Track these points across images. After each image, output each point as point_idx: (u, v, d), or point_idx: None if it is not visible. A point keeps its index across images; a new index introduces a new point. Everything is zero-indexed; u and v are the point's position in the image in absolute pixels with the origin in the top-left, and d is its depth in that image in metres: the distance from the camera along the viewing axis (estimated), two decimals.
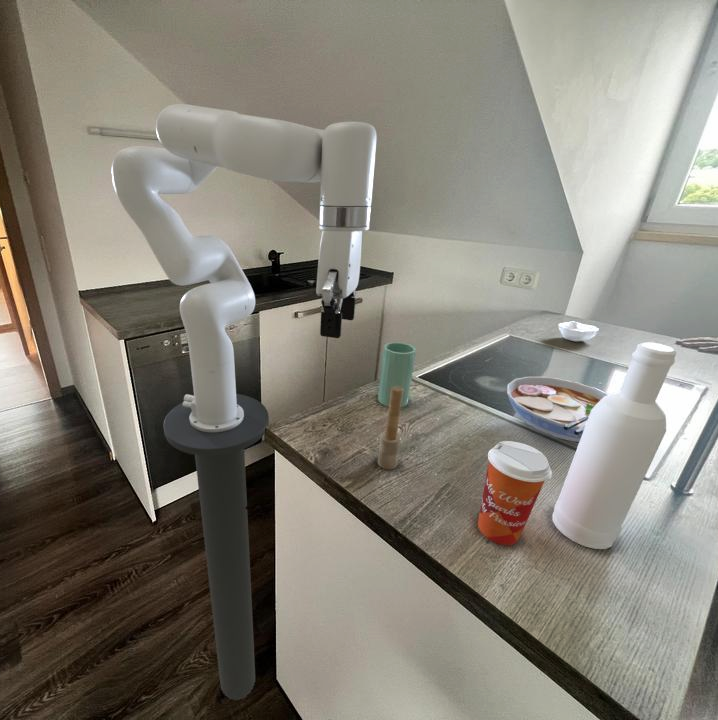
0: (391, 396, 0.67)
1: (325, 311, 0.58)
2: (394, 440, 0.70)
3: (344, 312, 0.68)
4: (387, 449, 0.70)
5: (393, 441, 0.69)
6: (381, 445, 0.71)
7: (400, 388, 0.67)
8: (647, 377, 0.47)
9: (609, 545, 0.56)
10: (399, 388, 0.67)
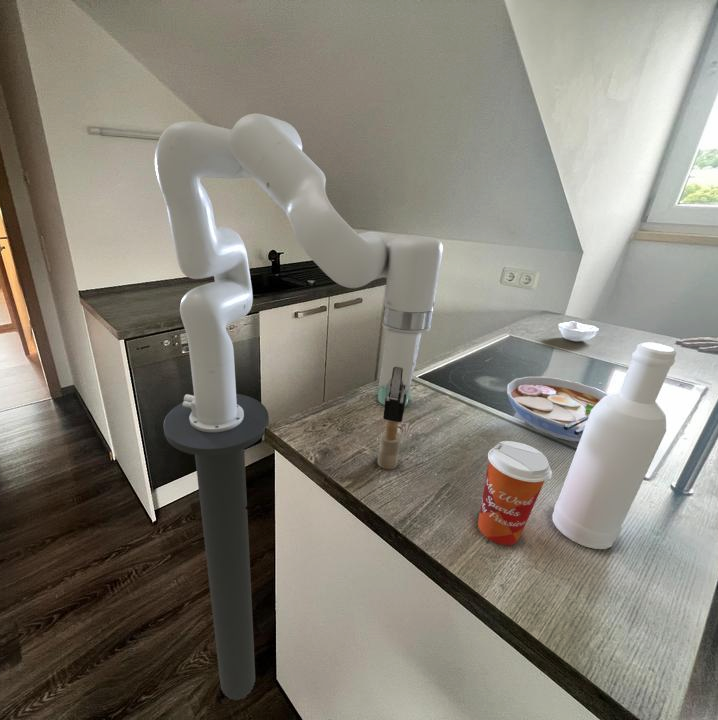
0: None
1: (390, 401, 0.65)
2: (394, 440, 0.70)
3: None
4: (386, 449, 0.70)
5: (393, 441, 0.69)
6: (381, 445, 0.71)
7: None
8: (647, 377, 0.47)
9: (609, 545, 0.56)
10: None
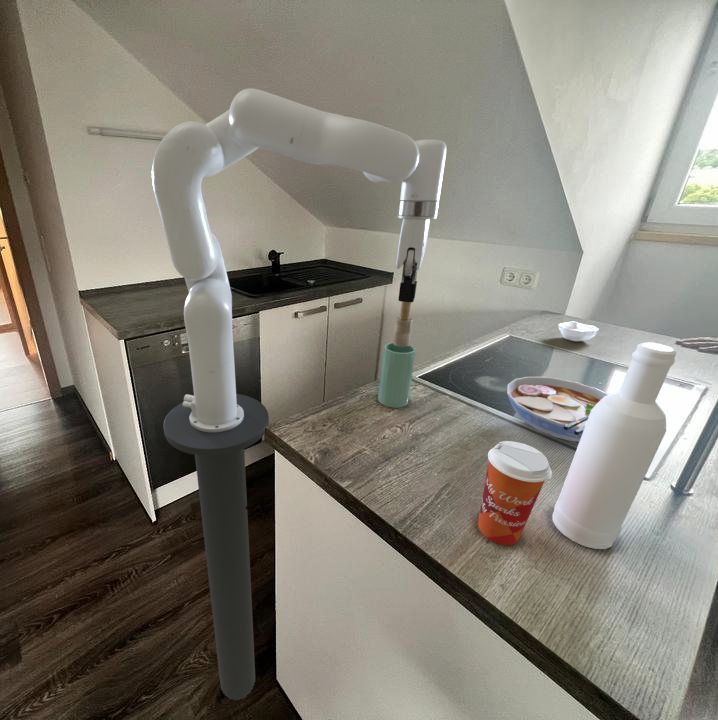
0: None
1: (404, 282, 0.81)
2: (407, 320, 0.86)
3: None
4: (401, 328, 0.86)
5: (406, 321, 0.86)
6: (396, 326, 0.87)
7: None
8: (647, 377, 0.47)
9: (609, 545, 0.56)
10: None
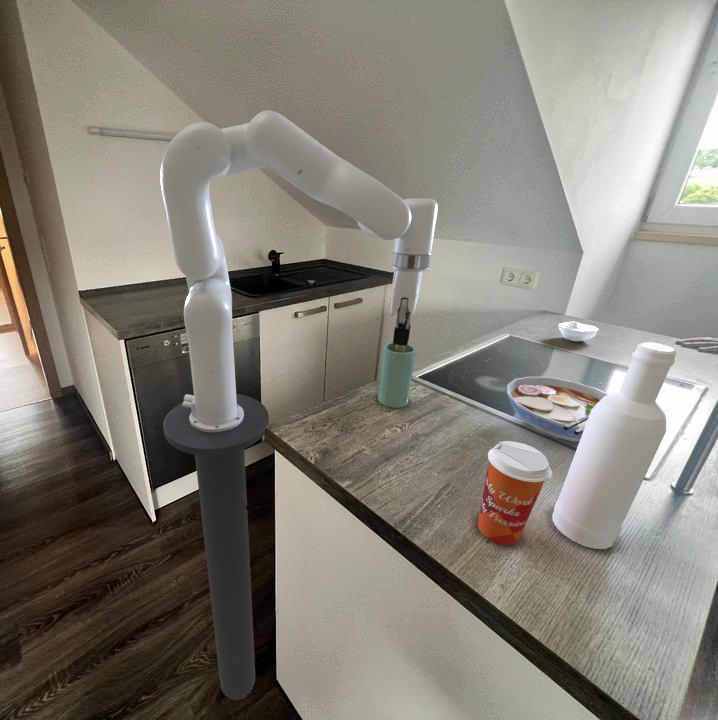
0: None
1: (398, 327, 0.85)
2: None
3: None
4: None
5: None
6: None
7: (406, 319, 0.87)
8: (647, 377, 0.47)
9: (609, 545, 0.56)
10: None
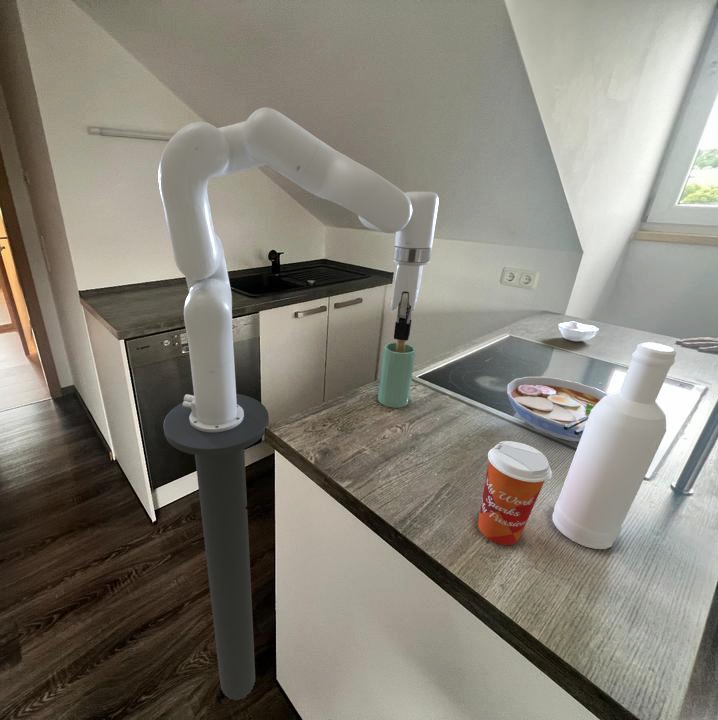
0: None
1: (399, 322, 0.85)
2: None
3: None
4: None
5: None
6: None
7: (407, 314, 0.86)
8: (647, 377, 0.47)
9: (609, 545, 0.56)
10: None
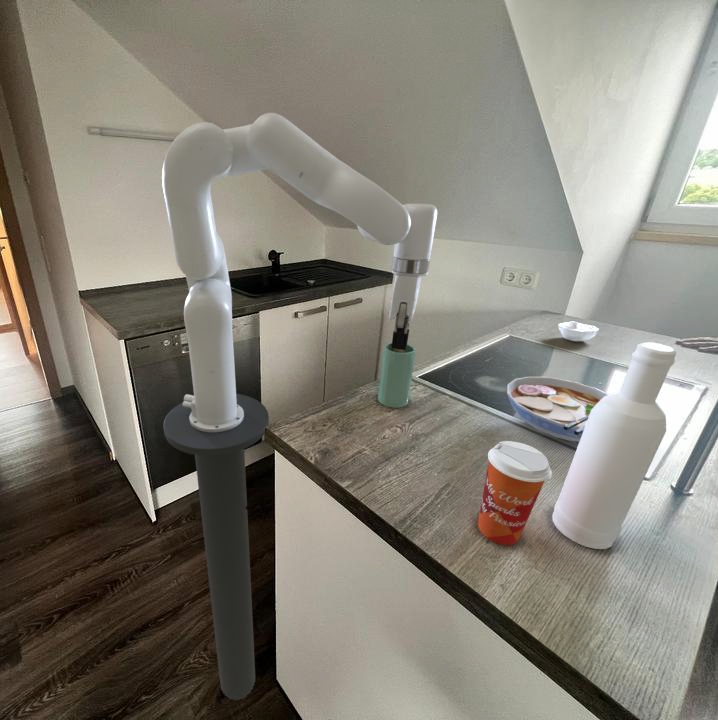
0: None
1: (397, 332, 0.86)
2: None
3: None
4: None
5: None
6: None
7: (405, 323, 0.87)
8: (647, 377, 0.47)
9: (609, 545, 0.56)
10: (404, 323, 0.87)
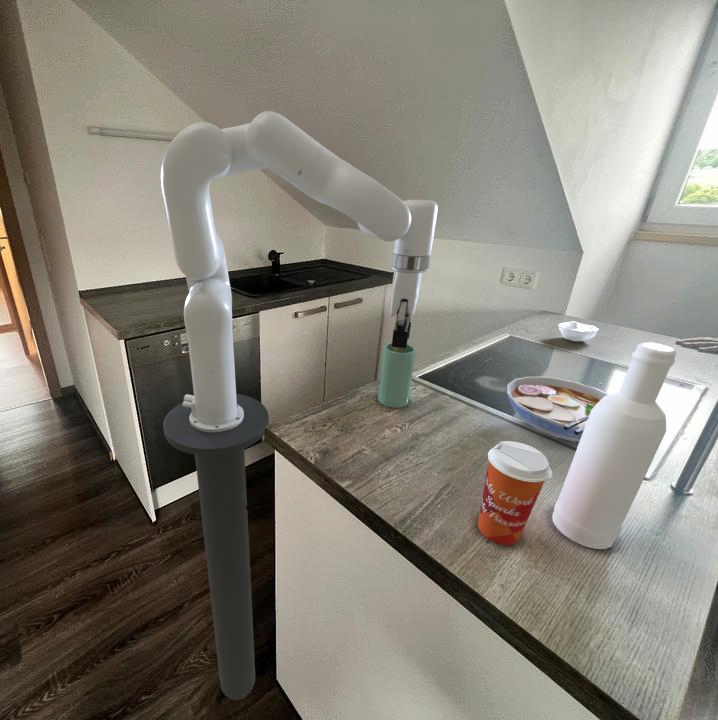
0: None
1: (397, 330, 0.84)
2: None
3: None
4: None
5: None
6: None
7: None
8: (647, 377, 0.47)
9: (609, 545, 0.56)
10: None
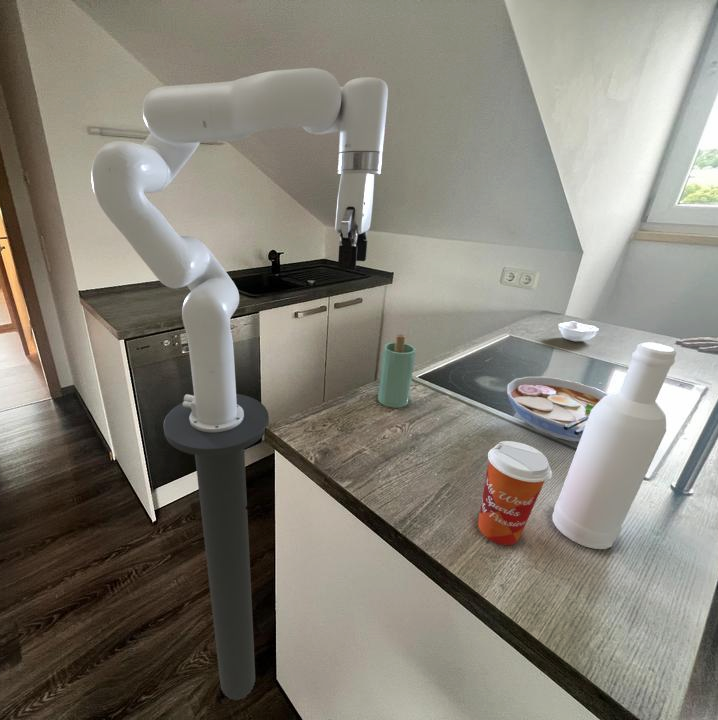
0: (396, 342, 0.89)
1: (343, 244, 0.68)
2: None
3: (357, 254, 0.78)
4: None
5: None
6: None
7: (403, 335, 0.88)
8: (647, 377, 0.47)
9: (609, 545, 0.56)
10: (402, 335, 0.88)
